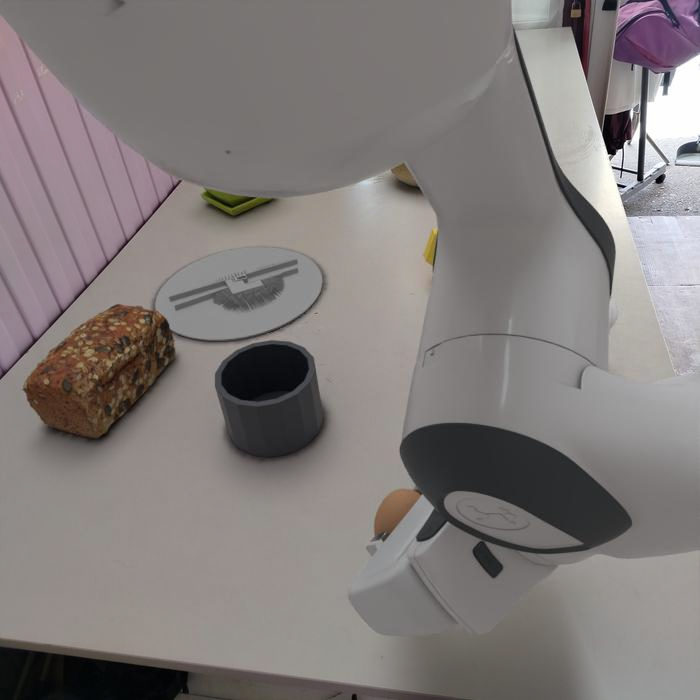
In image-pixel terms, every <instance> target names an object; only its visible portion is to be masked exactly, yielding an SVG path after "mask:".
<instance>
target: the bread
mask: <svg viewBox="0 0 700 700" xmlns="http://www.w3.org/2000/svg"><path fill="white" fill-rule="evenodd" d="M169 326H170V325H169V323H168V321H167V319H166V318H165V317H164V316H163V315H162V314H161V313H159V312H158V311H156V309H154V310H151V309H147V308H144V307H143V306H141V305H136V306H134V305H127V304H121V303H117V304H114V305H111V306H110V307H109V308H108V309H106V310H104V311H101V312H98V313H97V314H96V315H95V316H93V317H91V318H89V319H88V320H86V321H85V322H82V323H81V324H80V325H79V326H78V327H76V328H75V329H73V330H72V331H71V332H70V334H69V335H68V336H66V337H65V338H64V339H63V340H61V341H60V342H59V343H58V344H57V345H56V346H55V347H53V348H51V349H50V350H49V351H48V354H47V355H46V356H45V357H44V358H43V359H42V361H41V362H37V364H36V365H37V366H36V367H35V368H34V369H33V370H32V371H31V373H30V375H28V376H27V378H26V379H25V380H24V383H23V386H22V388H23V389H21V390H22V391H23V392H24V393H25V395H26V401H27V403H29V406H30V407H31V408H32V410H34V411H35V413H36V415H37V416H38V417H39V419H40V420H41V421H42V422H43V424H45V425H47V426H49V427H51V428H53V429H56V430H58V431H63V432H65V433H70V434H73V435H76V436H80V437H84V438H88V439H98V438H100V437H101V436H102V435H104V434H107V433H108V430H109V428H110V426H111V425H112V424H113V423H115V422H116V421H117V420H118V419H119V418H121V417H122V416H124V415H125V413H126V412H127V411H128V410H130V408H131V407H132V406H133V405H134V404H135V402H137V401H138V399H140V397H142V395H144V393H146V391H147V390H148V389H149V388H150V387H151V386H152V385H153V384H154V383H155V381H156V379H157V378H158V376H160V375H161V373H162V372H163V371H165V368H166V366H167V365H168V364H169V363H170V362H172V361H173V359H174V358H175V355H176V348H175V341H176V340H175V339H174V336H173V332H172V331H171V330H170V328H169Z"/></svg>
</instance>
